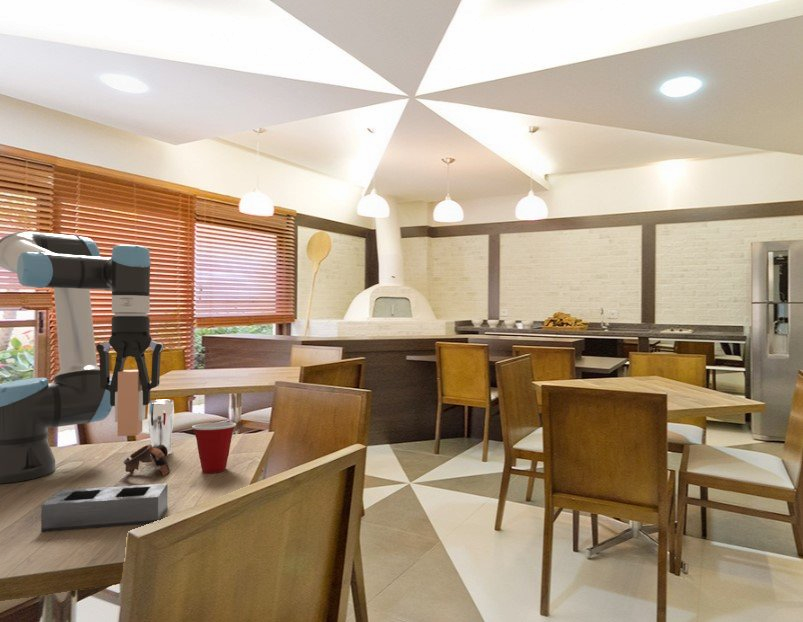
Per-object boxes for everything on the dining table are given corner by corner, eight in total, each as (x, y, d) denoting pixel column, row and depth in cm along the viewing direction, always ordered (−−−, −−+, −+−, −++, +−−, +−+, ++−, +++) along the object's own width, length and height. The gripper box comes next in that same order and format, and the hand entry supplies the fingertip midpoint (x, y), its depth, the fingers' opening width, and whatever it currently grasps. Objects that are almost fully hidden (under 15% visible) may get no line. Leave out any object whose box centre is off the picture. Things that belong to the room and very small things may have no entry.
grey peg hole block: (41, 532, 94) (41, 504, 94) (59, 515, 102) (60, 490, 102) (158, 522, 99) (158, 496, 99) (167, 507, 107) (167, 483, 107)
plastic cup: (236, 462, 139) (237, 418, 139) (235, 474, 129) (235, 426, 129) (194, 465, 136) (194, 420, 136) (188, 477, 126) (189, 429, 126)
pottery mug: (162, 482, 124) (143, 454, 123) (130, 496, 126) (111, 470, 124) (184, 456, 136) (167, 430, 134) (155, 469, 137) (138, 445, 136)
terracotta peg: (117, 436, 111) (117, 372, 111) (123, 432, 115) (123, 370, 115) (137, 435, 112) (137, 371, 112) (142, 431, 116) (142, 369, 116)
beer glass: (141, 455, 145) (141, 402, 145) (159, 449, 152) (160, 398, 152) (161, 457, 143) (162, 404, 143) (179, 451, 149) (179, 400, 150)
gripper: (81, 315, 108) (81, 425, 108) (168, 315, 112) (167, 421, 112) (94, 314, 116) (93, 418, 115) (175, 315, 119) (174, 415, 119)
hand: (130, 419), depth 114 cm, fingers closed on terracotta peg, 4 cm apart
